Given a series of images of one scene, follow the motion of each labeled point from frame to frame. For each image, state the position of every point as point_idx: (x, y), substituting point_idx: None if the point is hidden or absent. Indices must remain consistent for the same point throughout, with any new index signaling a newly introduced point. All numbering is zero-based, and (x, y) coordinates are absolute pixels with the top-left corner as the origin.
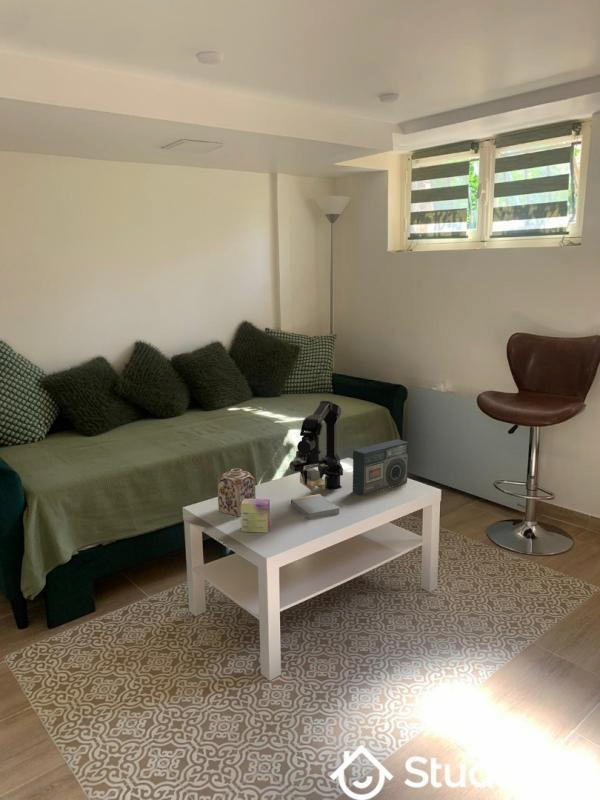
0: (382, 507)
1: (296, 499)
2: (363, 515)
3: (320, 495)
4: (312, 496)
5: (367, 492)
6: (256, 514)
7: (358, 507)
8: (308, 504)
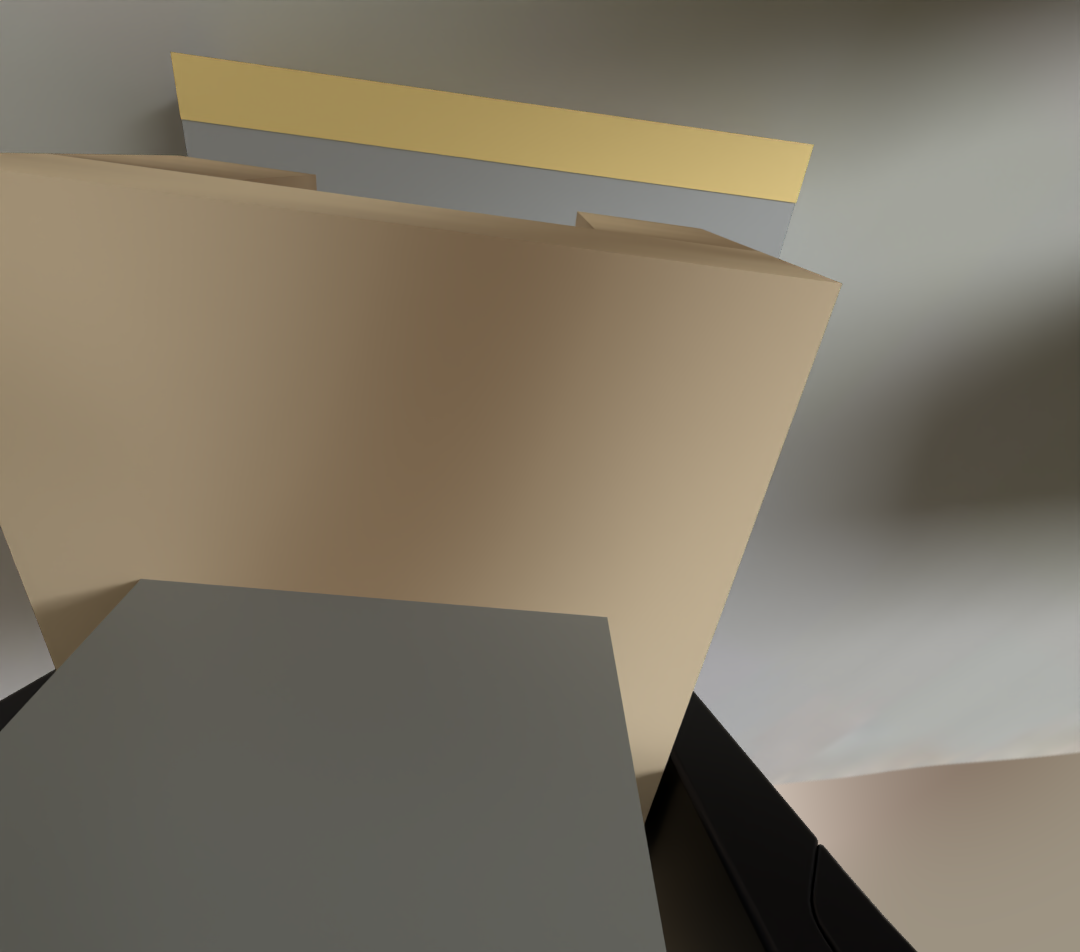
0: (1056, 707)
1: (278, 149)
2: (779, 747)
3: (770, 224)
4: (622, 185)
5: None
6: None
7: (906, 618)
8: None
